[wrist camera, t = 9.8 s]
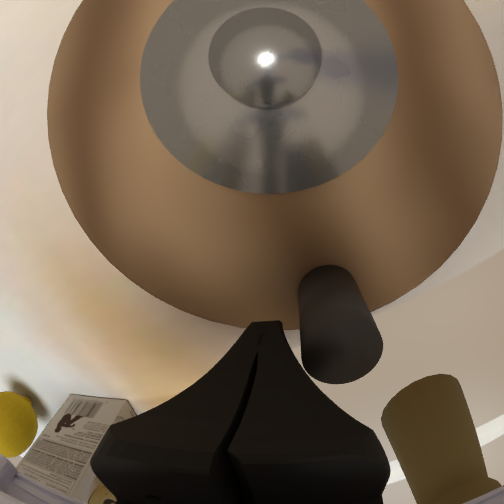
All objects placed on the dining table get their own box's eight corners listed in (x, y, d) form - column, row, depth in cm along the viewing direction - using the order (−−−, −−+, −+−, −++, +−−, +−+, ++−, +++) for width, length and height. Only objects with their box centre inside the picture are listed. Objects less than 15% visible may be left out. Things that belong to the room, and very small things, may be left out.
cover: (340, -25, 8) (352, -64, 5) (402, 161, 10) (438, 167, 7) (144, 26, 9) (108, 0, 6) (194, 210, 12) (165, 231, 9)
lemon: (34, 418, 22) (-2, 467, 15) (2, 377, 21) (-41, 423, 14) (60, 419, 21) (20, 477, 14) (24, 373, 20) (-26, 428, 12)
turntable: (394, -89, 6) (420, -141, 1) (504, 256, 12) (568, 301, 7) (46, 10, 10) (-18, -12, 5) (140, 342, 16) (94, 409, 10)
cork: (471, 395, 16) (528, 511, 6) (407, 443, 18) (436, 562, 7) (438, 359, 15) (511, 508, 5) (363, 416, 17) (388, 568, 7)
